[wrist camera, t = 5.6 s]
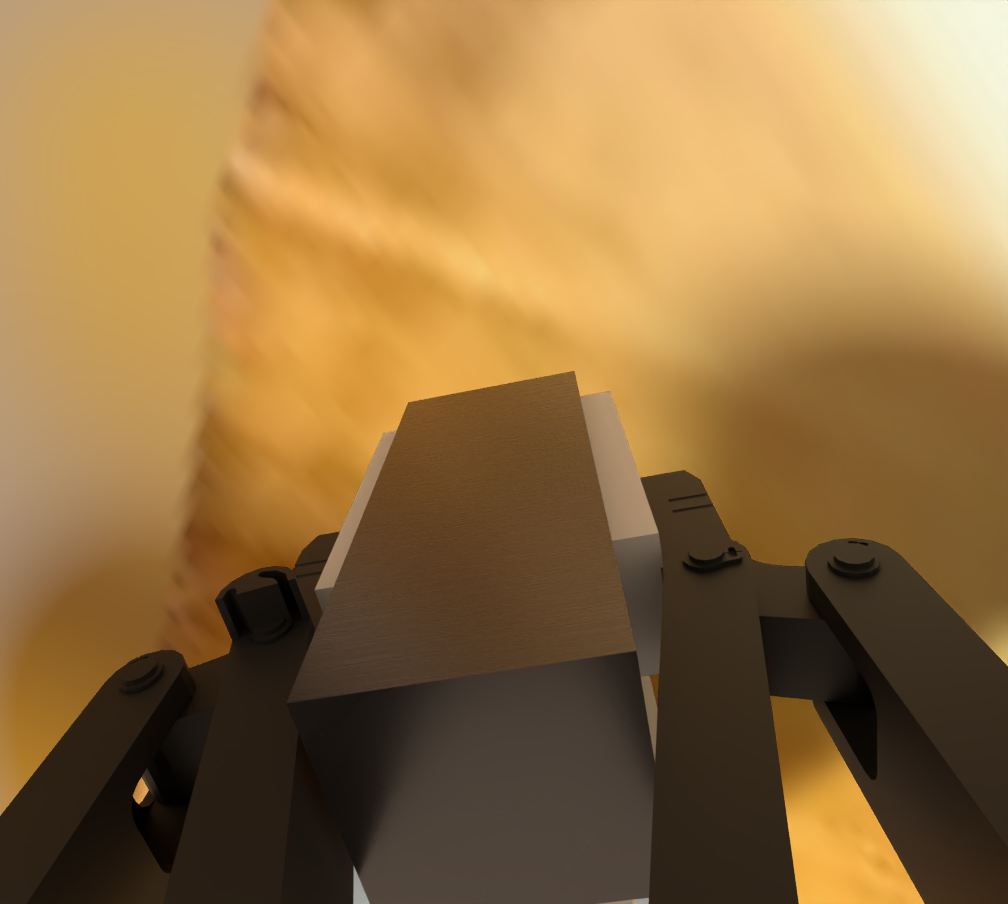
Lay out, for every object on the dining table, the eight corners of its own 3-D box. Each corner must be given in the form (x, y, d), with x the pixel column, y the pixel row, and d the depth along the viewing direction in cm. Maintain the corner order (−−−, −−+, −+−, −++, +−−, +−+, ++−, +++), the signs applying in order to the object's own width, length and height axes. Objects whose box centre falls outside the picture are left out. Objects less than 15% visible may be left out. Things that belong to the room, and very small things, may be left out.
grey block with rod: (573, 371, 17) (636, 651, 8) (660, 865, 24) (748, 1325, 15) (269, 428, 18) (6, 745, 9) (436, 891, 25) (386, 1347, 15)
